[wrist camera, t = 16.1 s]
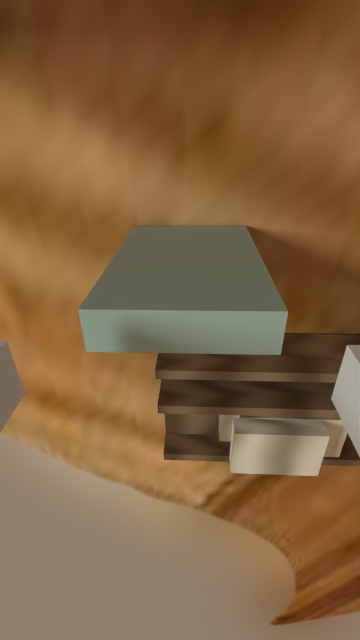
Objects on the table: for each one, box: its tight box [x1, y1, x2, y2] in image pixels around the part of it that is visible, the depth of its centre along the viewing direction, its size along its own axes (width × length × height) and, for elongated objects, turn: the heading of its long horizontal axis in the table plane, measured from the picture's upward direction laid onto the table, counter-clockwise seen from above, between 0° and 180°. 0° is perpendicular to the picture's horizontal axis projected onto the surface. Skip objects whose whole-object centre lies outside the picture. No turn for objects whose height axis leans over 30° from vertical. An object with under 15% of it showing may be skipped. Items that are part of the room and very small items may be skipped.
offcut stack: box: [219, 415, 348, 476], centre depth 35 cm, size 13×6×6 cm, turn 91°
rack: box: [155, 334, 360, 466], centre depth 35 cm, size 26×15×6 cm, turn 91°
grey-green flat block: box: [78, 226, 288, 355], centre depth 23 cm, size 10×2×16 cm, turn 91°
